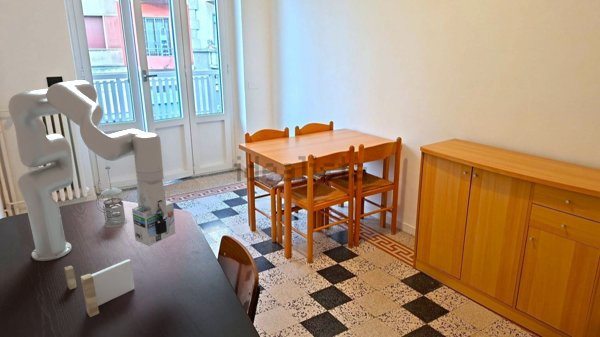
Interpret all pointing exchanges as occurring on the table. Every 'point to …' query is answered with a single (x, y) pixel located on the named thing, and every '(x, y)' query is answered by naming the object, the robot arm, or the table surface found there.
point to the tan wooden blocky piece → (84, 289)
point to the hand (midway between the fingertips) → (155, 228)
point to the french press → (116, 218)
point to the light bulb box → (151, 225)
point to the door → (113, 281)
